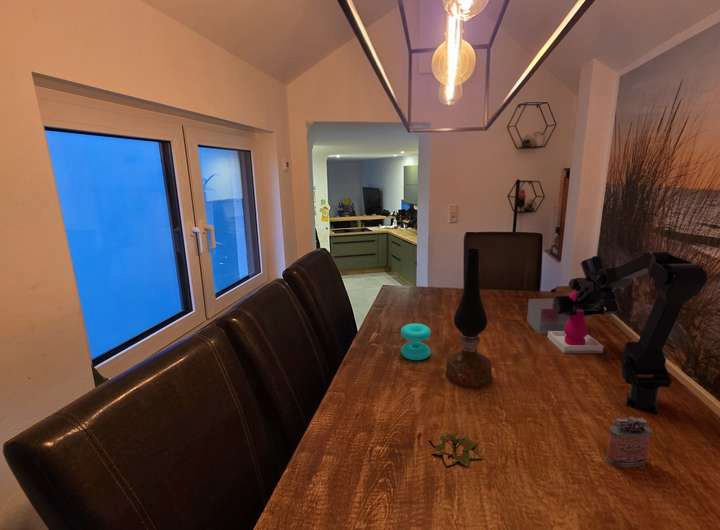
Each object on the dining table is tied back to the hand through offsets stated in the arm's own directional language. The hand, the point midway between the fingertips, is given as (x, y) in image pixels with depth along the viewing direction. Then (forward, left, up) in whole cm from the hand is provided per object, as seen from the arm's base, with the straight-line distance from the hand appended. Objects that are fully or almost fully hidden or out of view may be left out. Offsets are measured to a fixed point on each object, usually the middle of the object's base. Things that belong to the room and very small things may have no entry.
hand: (574, 314), depth 129 cm
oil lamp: (-42, +21, -11) cm, 48 cm away
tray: (-1, -1, -11) cm, 11 cm away
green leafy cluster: (-74, +11, -12) cm, 76 cm away
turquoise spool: (-39, +41, -11) cm, 58 cm away
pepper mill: (-2, -1, -10) cm, 10 cm away
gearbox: (+12, +8, -11) cm, 18 cm away
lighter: (-56, -19, -11) cm, 60 cm away
